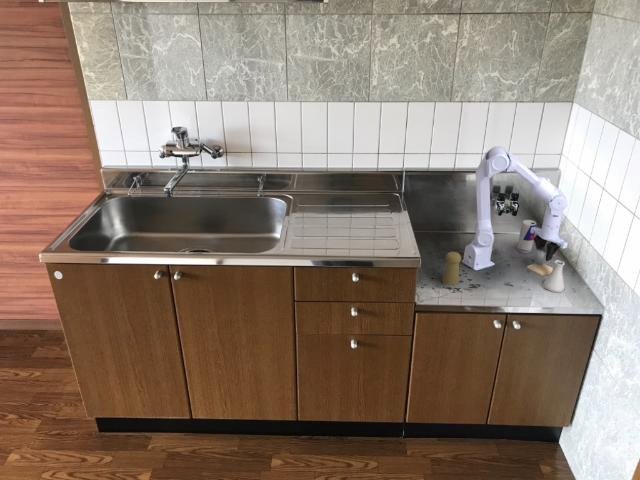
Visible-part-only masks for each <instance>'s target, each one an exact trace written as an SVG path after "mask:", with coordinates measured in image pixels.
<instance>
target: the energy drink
mask: <svg viewBox="0 0 640 480" xmlns="http://www.w3.org/2000/svg"><path fill="white" fill-rule="evenodd" d="M532 227H537V222H536V221H535V220H532V219H524V220H522V222H521V225H520V232H519V236H518V240H517V247H516V249H517V251H519V252H521V253H523V254H524V253H525V254H527V253H531V252H532V250H533V245H534V242H535V241H534V237H536V234H535V233H531V228H532Z"/></svg>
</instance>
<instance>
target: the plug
mask: <svg viewBox="0 0 640 480" xmlns="http://www.w3.org/2000/svg"><path fill="white" fill-rule="evenodd" d="M546 254H547V246H546V245H545V246H544V247H541V248H538V249H536V250H535V256H534V260H533V264H537V265H544V264H546V265H547V264H549V263H551V262H552V259H551V260H549V261H546ZM554 256H555V254H554V255H553V257H554Z"/></svg>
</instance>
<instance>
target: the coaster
mask: <svg viewBox="0 0 640 480" xmlns="http://www.w3.org/2000/svg"><path fill="white" fill-rule="evenodd" d="M526 268H527V269H529V270H531V271H532V272H535V274H538V275H540V276H541V277H543V276H546V275H550V273H551V272H552V270H553V268H554V267H551V266H550V265H547V264H544V265H537V264H535V263H533V264H532V263H531V264H530V265H527V266H526Z"/></svg>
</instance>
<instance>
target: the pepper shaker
mask: <svg viewBox="0 0 640 480" xmlns="http://www.w3.org/2000/svg"><path fill="white" fill-rule="evenodd" d="M445 261H446V263H445V267H444V270H443V274H442V277H441V282H442V283H443V284H445V285H448V286H456V284H457V285H458V284H459V283H460V263H461V262H462V256H461V254H460V253H459V252H457V251H450V252H448V253H446V254H445Z"/></svg>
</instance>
